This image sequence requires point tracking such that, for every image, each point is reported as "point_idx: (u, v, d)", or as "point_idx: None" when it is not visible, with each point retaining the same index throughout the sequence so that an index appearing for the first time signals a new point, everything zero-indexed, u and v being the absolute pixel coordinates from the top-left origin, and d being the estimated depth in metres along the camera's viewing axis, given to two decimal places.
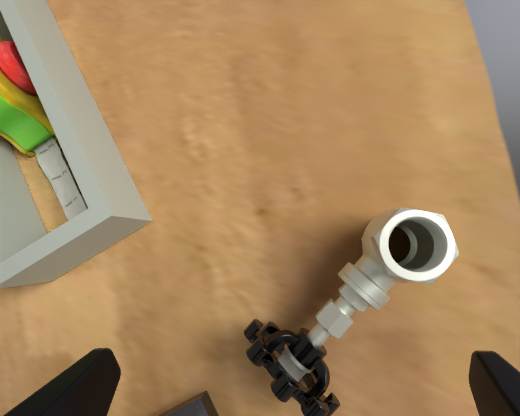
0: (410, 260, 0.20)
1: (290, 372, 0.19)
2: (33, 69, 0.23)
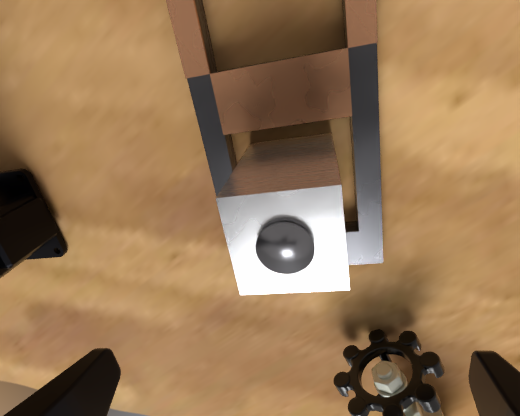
0: None
1: (387, 388, 0.20)
2: None
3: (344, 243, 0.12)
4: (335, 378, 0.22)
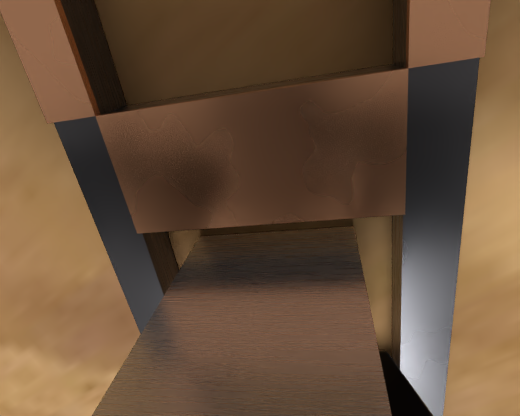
0: None
1: None
2: None
3: None
4: None
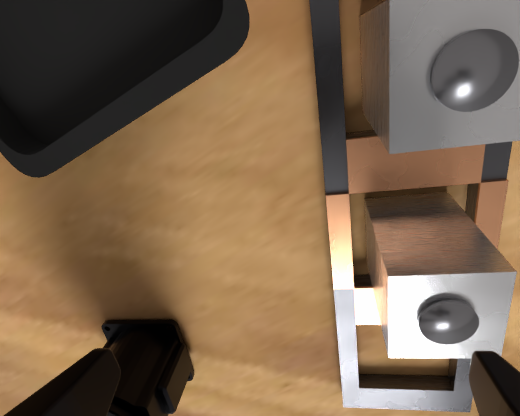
0: None
1: None
2: None
3: (506, 319, 0.13)
4: None
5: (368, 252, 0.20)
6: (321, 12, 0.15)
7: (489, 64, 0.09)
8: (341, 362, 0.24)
